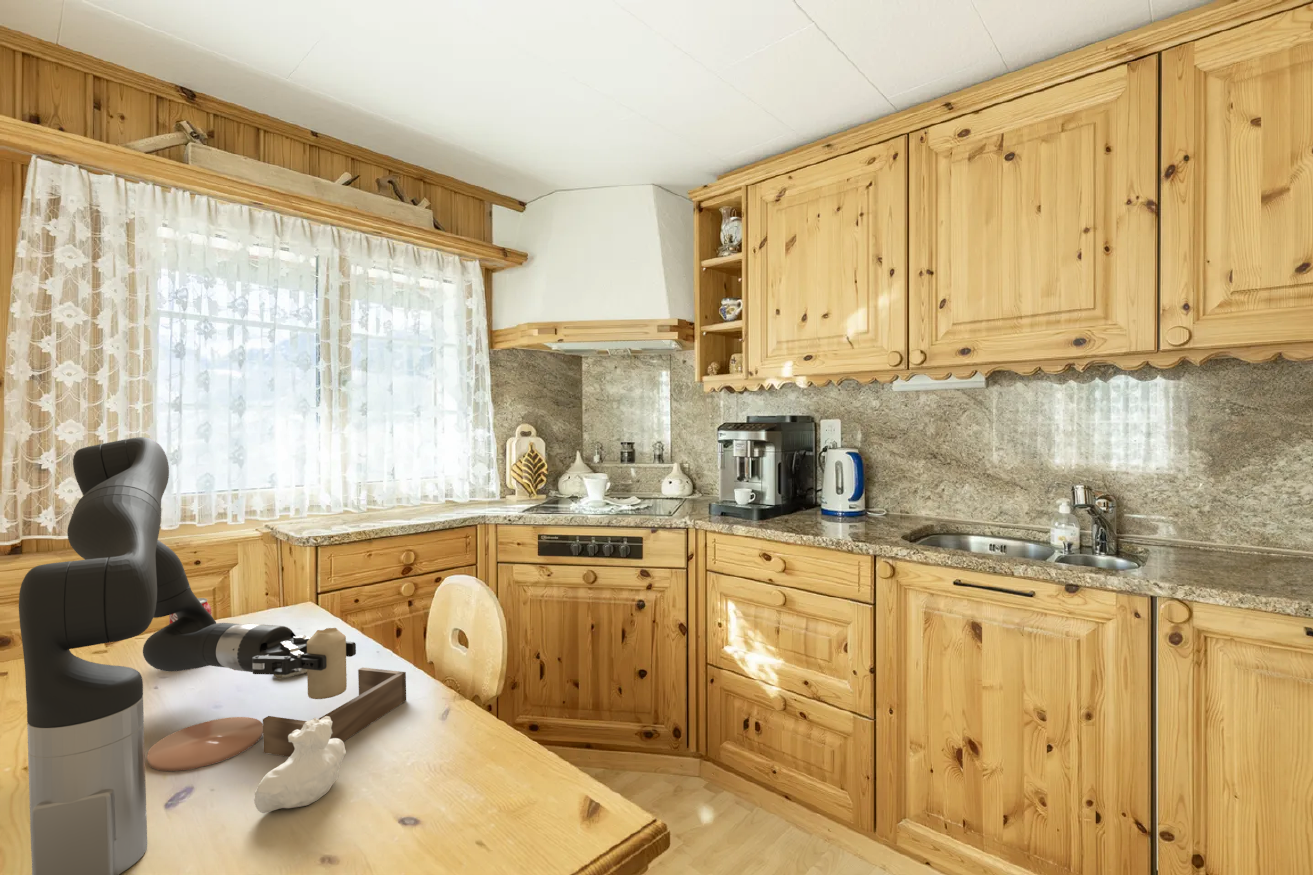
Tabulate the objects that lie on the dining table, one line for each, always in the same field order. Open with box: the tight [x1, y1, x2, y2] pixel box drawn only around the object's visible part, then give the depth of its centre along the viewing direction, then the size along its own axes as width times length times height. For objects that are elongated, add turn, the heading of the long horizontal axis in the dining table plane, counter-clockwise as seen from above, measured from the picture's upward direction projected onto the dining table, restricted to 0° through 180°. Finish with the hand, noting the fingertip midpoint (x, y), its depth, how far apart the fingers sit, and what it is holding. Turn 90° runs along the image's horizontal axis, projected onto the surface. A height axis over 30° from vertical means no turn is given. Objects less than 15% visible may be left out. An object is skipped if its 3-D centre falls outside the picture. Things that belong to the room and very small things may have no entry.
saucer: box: [146, 716, 263, 772], centre depth 93 cm, size 14×14×1 cm
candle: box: [306, 627, 348, 700], centre depth 99 cm, size 6×6×10 cm
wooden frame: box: [262, 666, 407, 758], centre depth 99 cm, size 9×20×5 cm, turn 164°
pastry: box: [273, 669, 307, 680], centre depth 123 cm, size 9×7×4 cm
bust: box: [253, 716, 347, 814], centre depth 79 cm, size 12×8×11 cm
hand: (339, 655), depth 98 cm, fingers closed on candle, 5 cm apart
